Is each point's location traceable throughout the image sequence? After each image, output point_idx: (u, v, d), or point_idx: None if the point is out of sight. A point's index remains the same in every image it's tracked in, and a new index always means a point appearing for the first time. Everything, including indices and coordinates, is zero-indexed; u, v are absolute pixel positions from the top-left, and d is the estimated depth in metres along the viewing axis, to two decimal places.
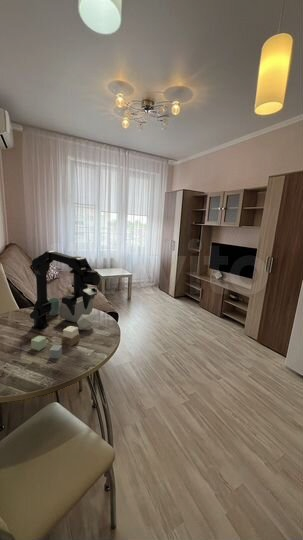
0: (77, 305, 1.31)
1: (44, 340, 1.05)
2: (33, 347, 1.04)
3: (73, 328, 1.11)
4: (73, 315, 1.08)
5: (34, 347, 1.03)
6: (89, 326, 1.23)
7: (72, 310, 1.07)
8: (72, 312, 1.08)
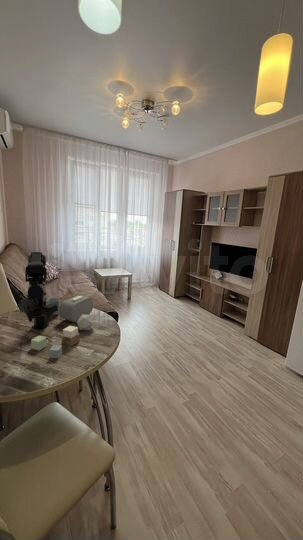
0: (77, 305, 1.31)
1: (44, 340, 1.05)
2: (33, 347, 1.04)
3: (73, 328, 1.11)
4: (29, 321, 1.04)
5: (34, 347, 1.03)
6: (89, 326, 1.23)
7: None
8: None
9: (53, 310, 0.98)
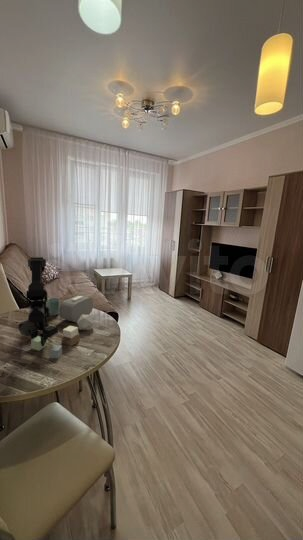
0: (77, 305, 1.31)
1: None
2: (33, 347, 1.04)
3: (73, 328, 1.11)
4: None
5: (34, 347, 1.03)
6: (89, 326, 1.23)
7: None
8: None
9: (53, 333, 1.00)
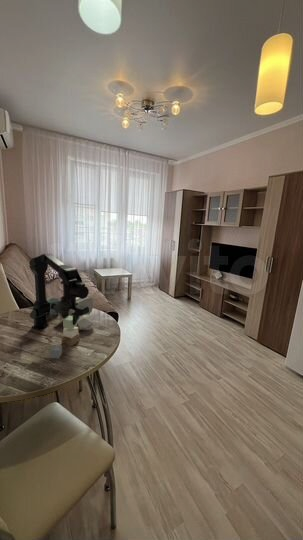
0: (77, 305, 1.31)
1: None
2: (65, 326, 1.08)
3: None
4: None
5: (66, 326, 1.07)
6: (89, 326, 1.23)
7: None
8: None
9: (85, 311, 1.05)
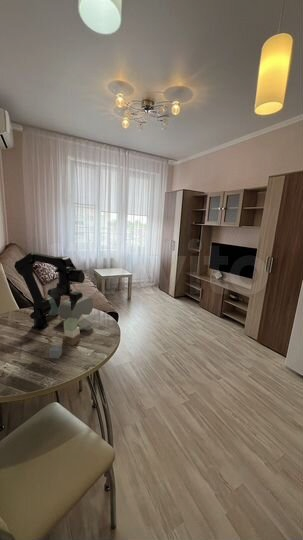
0: (77, 305, 1.31)
1: (76, 321, 1.10)
2: (65, 328, 1.08)
3: None
4: None
5: (67, 328, 1.08)
6: (89, 326, 1.23)
7: None
8: None
9: (79, 297, 1.15)
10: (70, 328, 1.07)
